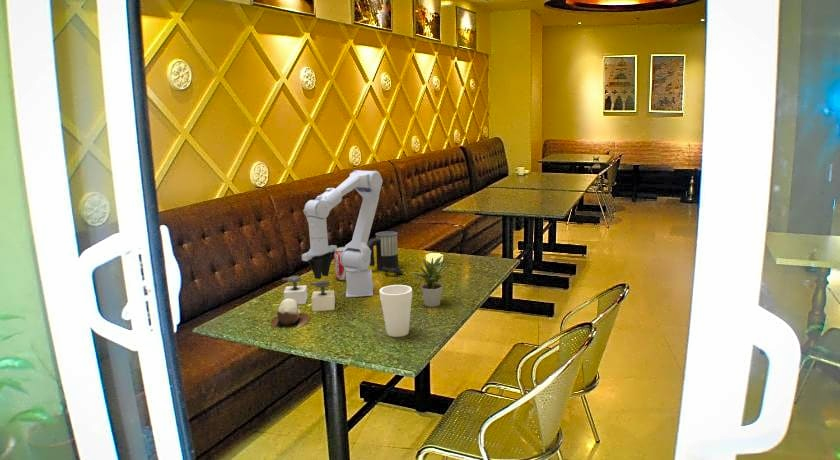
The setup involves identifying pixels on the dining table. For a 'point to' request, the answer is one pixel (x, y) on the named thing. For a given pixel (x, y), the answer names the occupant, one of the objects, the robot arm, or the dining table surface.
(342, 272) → the soda can
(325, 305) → the off-white square plinth
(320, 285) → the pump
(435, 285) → the house plant
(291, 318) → the skull
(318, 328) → the dining table surface
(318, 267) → the robot arm
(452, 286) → the dining table surface
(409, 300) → the foam cup
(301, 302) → the square base with knob
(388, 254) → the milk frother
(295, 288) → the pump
